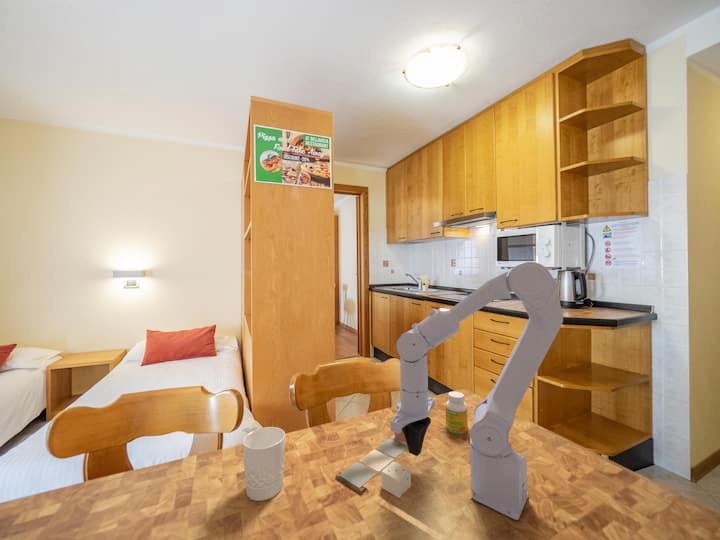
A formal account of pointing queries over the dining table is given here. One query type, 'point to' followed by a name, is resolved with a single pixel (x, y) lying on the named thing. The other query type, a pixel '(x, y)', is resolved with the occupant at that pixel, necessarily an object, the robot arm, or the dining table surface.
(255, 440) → the white cup
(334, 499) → the dining table surface
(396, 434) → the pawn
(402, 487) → the die
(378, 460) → the track
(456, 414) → the supplement bottle
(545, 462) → the dining table surface
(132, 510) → the dining table surface
